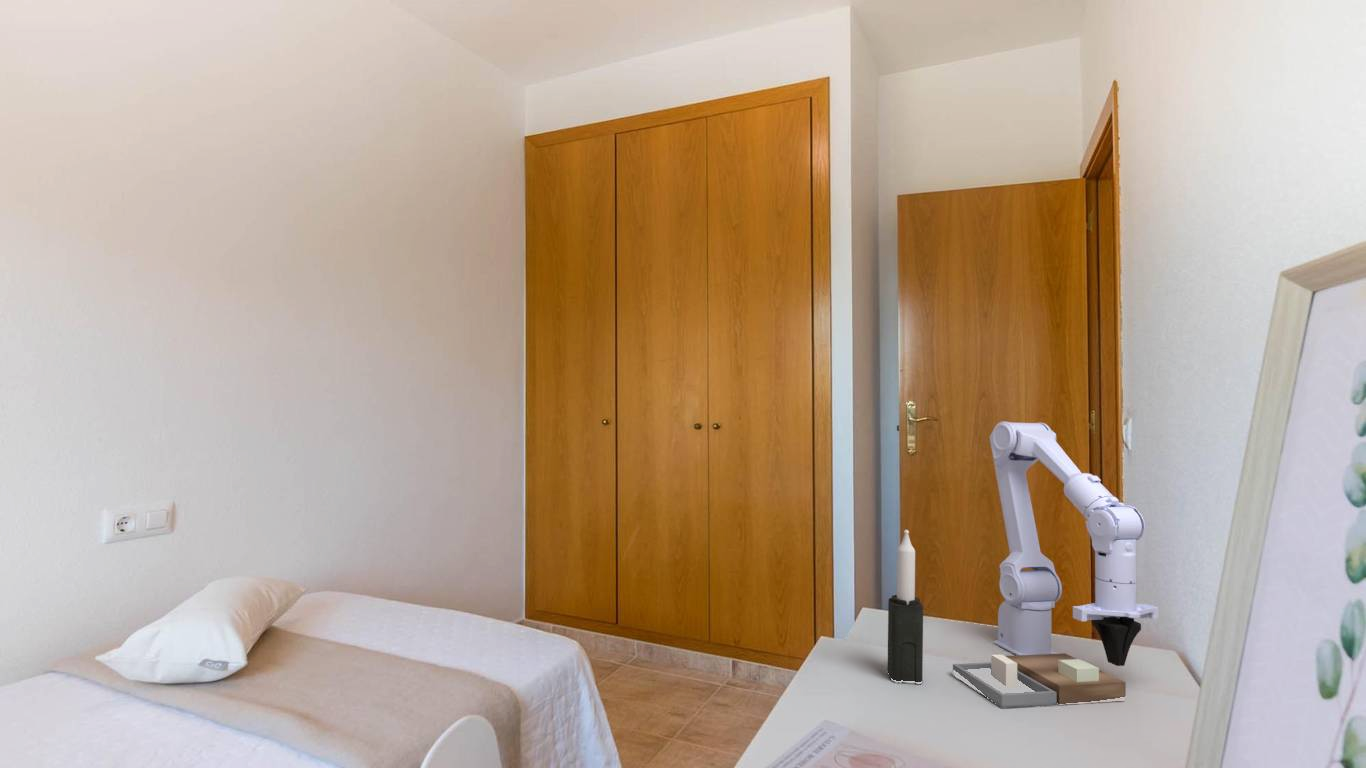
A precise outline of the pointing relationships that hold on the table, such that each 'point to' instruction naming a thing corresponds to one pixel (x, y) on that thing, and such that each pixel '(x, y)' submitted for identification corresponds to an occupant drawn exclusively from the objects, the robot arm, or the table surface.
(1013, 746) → the table surface
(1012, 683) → the cream tile
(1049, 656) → the walnut board
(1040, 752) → the table surface
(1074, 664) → the sage tile
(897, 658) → the candle
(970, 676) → the tray
